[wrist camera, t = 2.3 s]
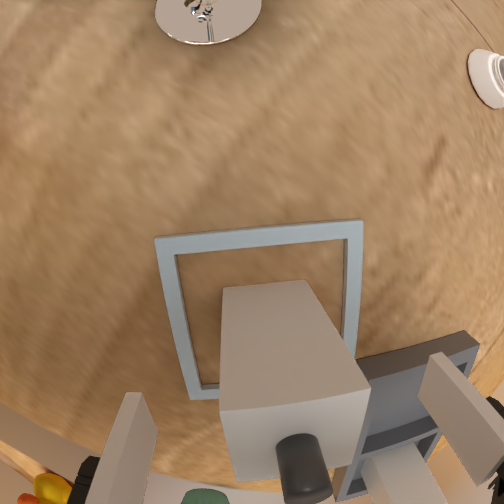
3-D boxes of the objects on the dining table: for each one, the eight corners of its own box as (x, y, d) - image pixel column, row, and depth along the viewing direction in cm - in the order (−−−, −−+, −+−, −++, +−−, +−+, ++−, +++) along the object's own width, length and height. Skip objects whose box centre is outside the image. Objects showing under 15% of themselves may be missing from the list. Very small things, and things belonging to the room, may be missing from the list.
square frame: (190, 394, 20) (190, 400, 20) (156, 236, 17) (154, 239, 16) (348, 375, 21) (351, 380, 20) (359, 218, 17) (363, 220, 17)
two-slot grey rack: (331, 486, 26) (335, 502, 24) (356, 359, 20) (369, 379, 18) (410, 462, 27) (417, 475, 25) (464, 330, 21) (480, 344, 18)
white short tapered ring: (507, 107, 16) (491, 52, 14) (531, 106, 13) (513, 47, 11) (476, 110, 16) (456, 49, 14) (502, 108, 13) (480, 41, 11)
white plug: (360, 472, 25) (392, 555, 13) (368, 449, 24) (409, 543, 12) (398, 459, 25) (436, 536, 14) (410, 435, 24) (456, 519, 12)
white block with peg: (232, 354, 19) (239, 527, 8) (223, 287, 18) (218, 471, 6) (305, 346, 20) (366, 505, 8) (305, 279, 18) (400, 437, 6)
